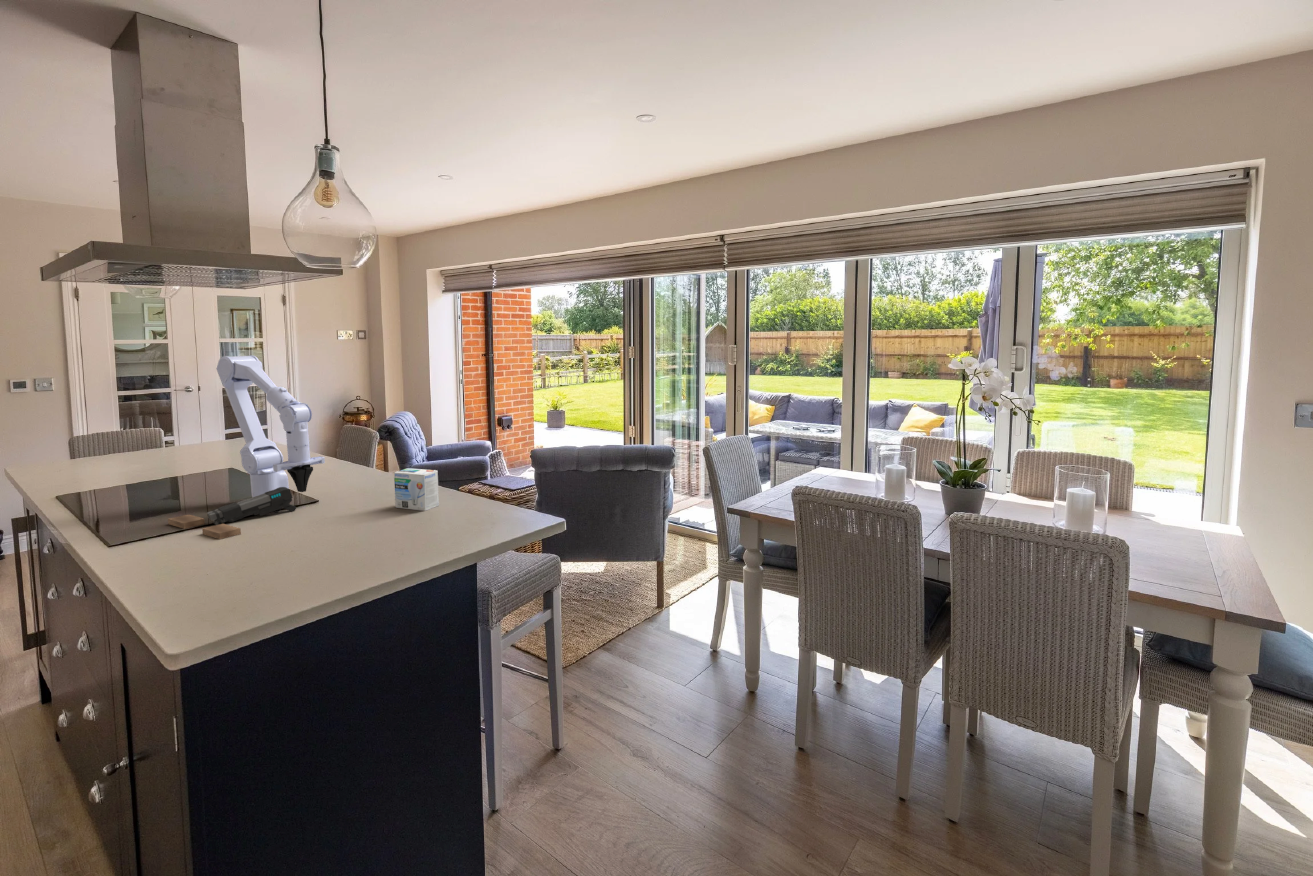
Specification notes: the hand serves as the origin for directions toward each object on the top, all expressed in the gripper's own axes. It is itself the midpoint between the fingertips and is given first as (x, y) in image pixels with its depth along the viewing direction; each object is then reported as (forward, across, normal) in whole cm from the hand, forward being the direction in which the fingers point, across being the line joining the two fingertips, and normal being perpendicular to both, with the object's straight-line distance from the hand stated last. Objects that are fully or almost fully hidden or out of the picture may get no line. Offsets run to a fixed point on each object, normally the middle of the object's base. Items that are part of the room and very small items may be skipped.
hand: (301, 491), depth 196 cm
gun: (+5, -14, 0) cm, 15 cm away
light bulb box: (+5, +17, -29) cm, 34 cm away
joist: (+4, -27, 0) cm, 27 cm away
